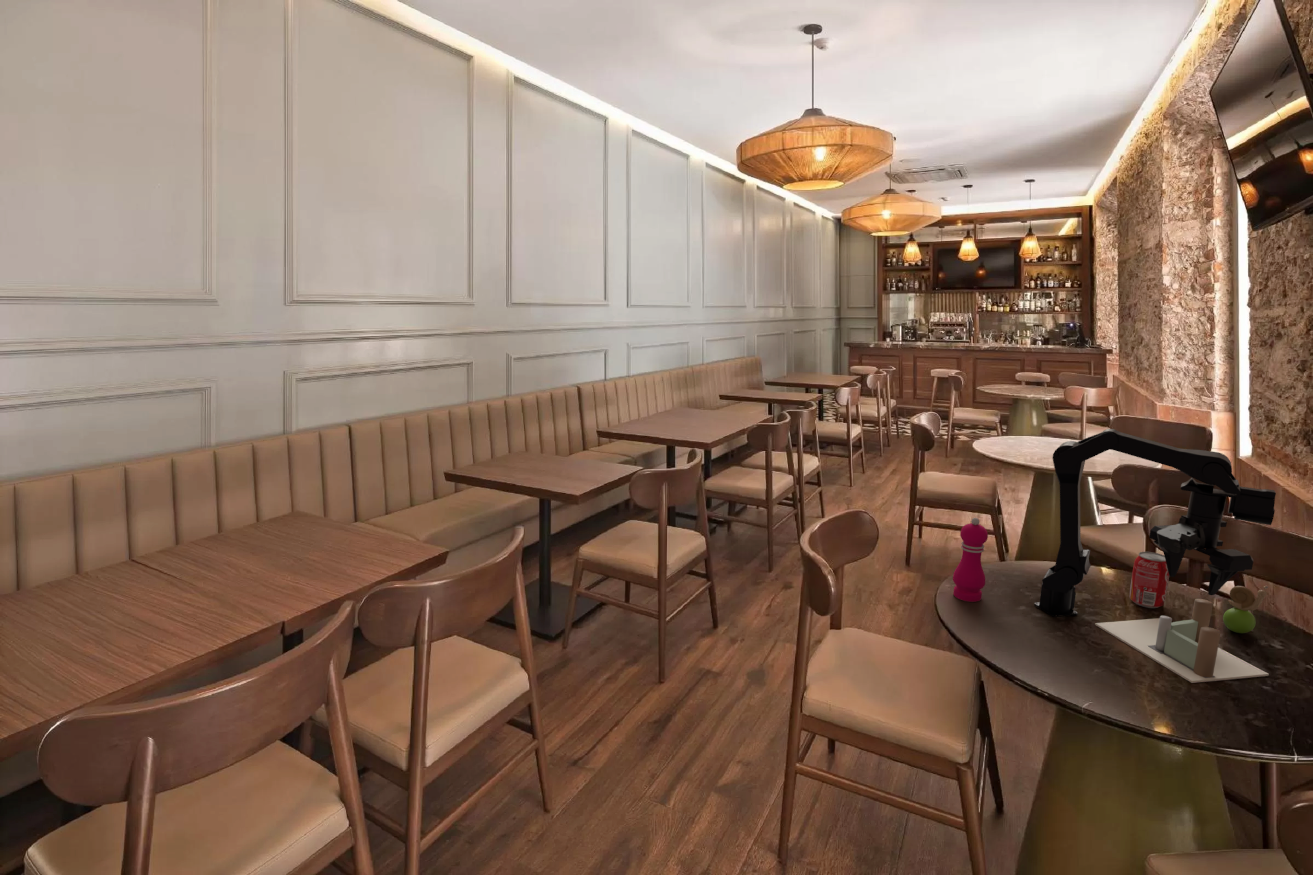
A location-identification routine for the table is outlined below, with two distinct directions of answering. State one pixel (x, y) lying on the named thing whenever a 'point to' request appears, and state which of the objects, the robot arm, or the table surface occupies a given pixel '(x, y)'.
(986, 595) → the table surface
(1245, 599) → the snail figurine
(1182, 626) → the fence gate
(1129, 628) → the card
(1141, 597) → the soda can
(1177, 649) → the fence fixed
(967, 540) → the pepper mill
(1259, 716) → the table surface
